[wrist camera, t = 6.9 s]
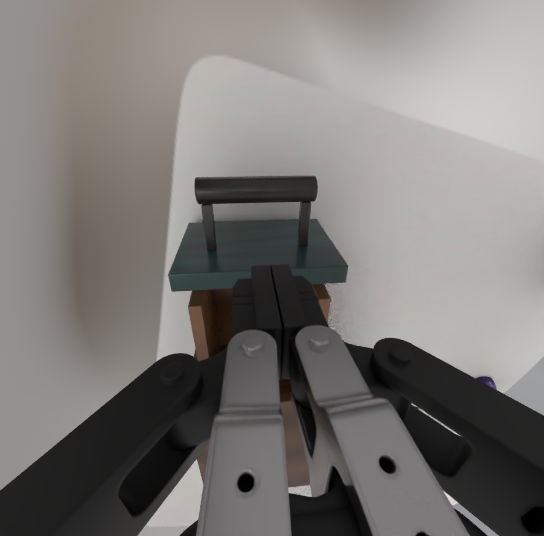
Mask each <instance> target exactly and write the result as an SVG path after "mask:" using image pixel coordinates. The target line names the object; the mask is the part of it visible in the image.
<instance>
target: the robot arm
mask: <svg viewBox="0 0 544 536" xmlns="http://www.w3.org/2000/svg"><path fill="white" fill-rule="evenodd" d="M232 297H233V298H232V337H231V340H230V342H229V344H228V346H227V347H226V348H225V349H224V350H223V351H221V352H220V353H218V354H217V355H215V356H212V357H210V358H207V359H204V360H201V361H199V362H198V360H197V359H196V358H194V357H193V356H191V355H188V354H183V353H178V354H172V355H168V356H166V357H163V358H162V359H160V360H158V361H157V362H155V363H154V364H153V365H152V366H151V367H149V368H148V369H147V370H146V371H144V372H143V373H142V374H141V375H140V376H138V377H137V378H136V379H135V380H134V381H132V382H131V383H130V384H129V385H128V386H126V387H125V388H124V389H123V390H121V391H120V392H119V393H118V394H117V395H115V396H114V397H113V398H112V399H111V400H109V401H108V402H107V403H106V404H105V405H103V406H102V407H101V408H100V409H98V410H97V411H96V412H95V413H94V414H92V415H91V416H90V417H89V418H88V419H87V420H85V421H84V422H83V423H82V424H80V425H79V426H78V427H77V428H75V429H74V430H73V431H72V432H71V433H69V435H67V436H66V437H65V438H63V439H62V440H61V441H60V442H58V443H57V444H56V445H55V446H54V447H53V448H51V449H50V450H49V451H48V452H46V453H45V454H44V455H43V456H42V457H40V458H39V459H38V460H37V461H35V462H34V463H33V464H32V465H31V466H29V467H28V468H27V469H26V470H25V471H24V472H22V473H21V474H20V475H19V476H17V477H16V478H15V479H14V480H12V481H11V482H10V483H9V484H8V485H6V486H5V487H4V488H3V489H2V490H0V536H137V535H138V534H139V533H140V532H141V530H142V529H143V528H144V526H145V525H146V524H147V522H148V521H149V520H150V519H151V517H152V516H153V515H154V513H155V512H156V511H157V509H158V508H159V507H160V506H161V504H162V503H163V502H164V500H165V499H166V498H167V496H168V495H169V494H170V493H171V491H172V490H173V489H174V487H175V486H176V485H177V483H178V482H179V481H180V480H181V478H182V477H183V476H184V474H185V473H186V472H187V471H188V469H189V468H190V467H191V465H192V464H193V463H194V461H195V460H196V459H197V458H198V456H199V455H200V454H201V452H202V451H203V450H204V448H205V447H206V446H207V444H208V443H209V440H210V445H209V451H208V458H207V465H206V472H205V479H204V485H203V492H202V499H201V506H200V513H199V519H198V520H197V521H196V522H194V523H193V524H192V525H191V526H190V527H188V528H187V529H186V530H185V531H184V532H183V533H182V534H181V535H180V536H487V535H486V534H485V533H484V532H483V531H481V530H480V529H479V528H478V527H477V526H476V525H474V524H473V523H472V522H471V521H470V520H469V519H468V518H466V517H465V516H464V515H463V514H461V513H460V512H459V511H457V510H456V509H454V508H453V507H452V505H451V503H450V501H449V500H448V498H447V496H446V495H445V493H444V492H446V493H447V494H448V495H449V496H451V497H452V498H453V499H454V500H455V501H457V502H458V503H459V504H460V505H462V506H463V507H464V508H465V509H467V510H468V511H469V512H470V513H472V514H473V515H474V516H475V517H477V518H478V519H479V520H480V521H482V522H483V523H484V524H485V525H487V526H488V527H489V528H490V529H491V530H493V531H494V532H495V533H496V534H498V535H499V536H544V416H543V415H541V414H540V413H538V412H536V411H534V410H532V409H530V408H528V407H527V406H525V405H523V404H521V403H519V402H518V401H516V400H514V399H512V398H510V397H508V396H506V395H505V394H503V393H501V392H499V391H497V390H495V389H494V388H492V387H490V386H488V385H486V384H484V383H483V382H481V381H479V380H477V379H475V378H473V377H471V376H470V375H468V374H466V373H464V372H462V371H460V370H459V369H457V368H455V367H453V366H451V365H449V364H448V363H446V362H444V361H442V360H440V359H438V358H436V357H435V356H433V355H431V354H429V353H427V352H425V351H424V350H422V349H420V348H418V347H416V346H414V345H412V344H411V343H409V342H407V341H404V340H401V339H397V338H385V339H381V340H379V341H378V342H377V343H376V344H375V346H374V349H372V348H367V347H361V346H356V345H352V344H349V343H346V342H344V341H343V340H342V338H341V337H340V335H339V334H338V333H337V332H335V331H334V330H332V329H330V328H329V326H328V324H327V321H326V319H325V316H324V314H323V311H322V309H321V306H320V304H319V301H318V300H317V297H316V294H315V293H314V289H313V287H312V284H311V282H309V281H308V280H307V279H306V278H305V277H304V276H293V275H292V272H291V268H290V265H289V264H276V265H270V266H269V265H257V266H251V278H248V279H238V280H237V281H236V283H235V284H234V286H233V294H232ZM280 371H281V377H282V379H290V383H291V388H292V391H291V403H292V407H293V410H294V414H295V418H296V422H297V425H298V429H299V433H300V437H301V441H302V444H303V448H304V452H305V456H306V460H307V464H308V470H309V481H310V488H311V494H312V497H307V496H302V495H296V494H291V493H288V479H287V465H286V451H285V437H284V423H283V414H282V411H281V406H280V391H279V380H280ZM412 403H413V404H414V405H416V406H417V407H419V408H420V409H422V410H423V411H425V412H426V413H428V414H429V415H431V416H432V417H434V418H435V419H437V420H438V421H440V422H441V423H443V424H444V425H446V426H447V427H449V428H450V429H452V430H453V431H455V432H456V433H458V434H459V435H461V436H462V437H461V436H458V435H456V434H454V433H453V432H451V431H450V430H448V429H447V428H445V427H444V426H442V425H441V424H439V423H438V422H436V421H435V420H433V419H432V418H430V417H429V416H427V415H426V414H424V413H423V412H421V411H420V410H418V409H417V408H415V407H414V406H413V405H411V404H412Z"/></svg>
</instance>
